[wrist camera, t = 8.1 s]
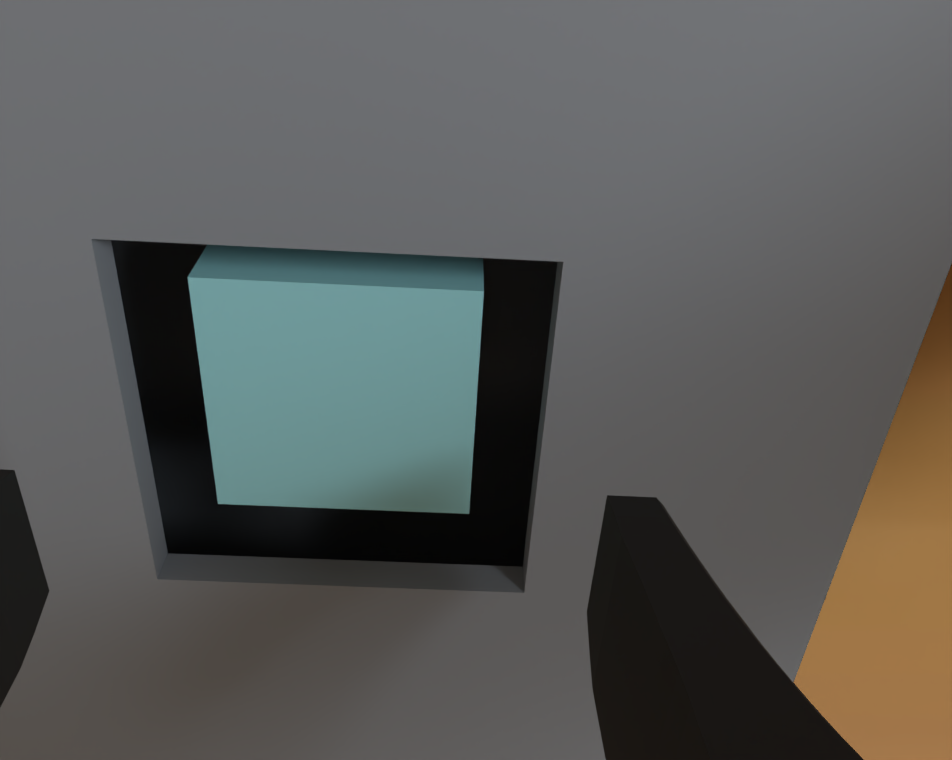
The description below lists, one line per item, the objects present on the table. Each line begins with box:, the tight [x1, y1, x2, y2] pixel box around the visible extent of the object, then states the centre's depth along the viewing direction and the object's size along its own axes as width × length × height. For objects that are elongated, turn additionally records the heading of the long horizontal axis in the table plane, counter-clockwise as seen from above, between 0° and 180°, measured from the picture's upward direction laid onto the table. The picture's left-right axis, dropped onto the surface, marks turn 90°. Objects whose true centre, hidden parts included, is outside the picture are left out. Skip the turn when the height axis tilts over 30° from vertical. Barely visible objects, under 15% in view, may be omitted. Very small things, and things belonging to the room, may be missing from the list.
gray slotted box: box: [0, 0, 952, 760], centre depth 16 cm, size 16×18×6 cm
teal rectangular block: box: [188, 245, 484, 514], centre depth 15 cm, size 4×4×5 cm
